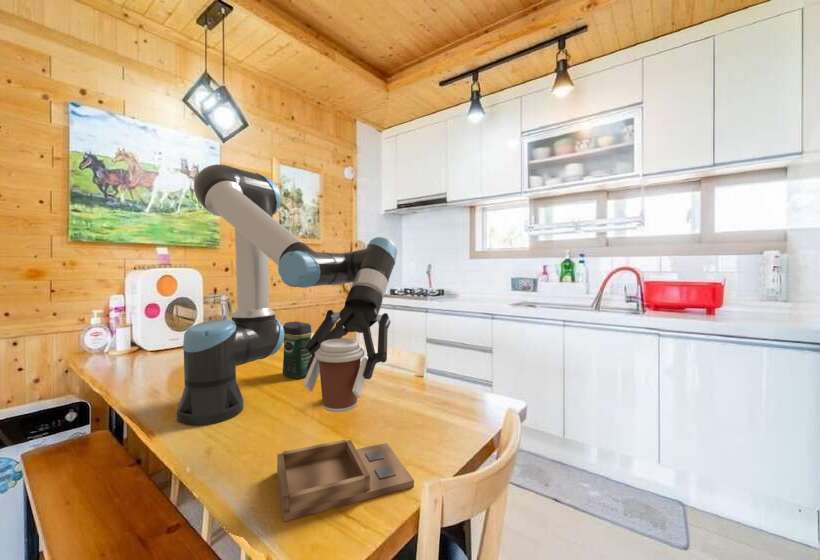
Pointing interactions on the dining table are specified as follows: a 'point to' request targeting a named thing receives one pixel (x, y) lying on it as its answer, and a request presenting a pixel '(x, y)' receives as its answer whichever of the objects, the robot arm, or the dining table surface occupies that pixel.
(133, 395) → the dining table surface
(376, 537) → the dining table surface
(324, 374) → the coffee cup
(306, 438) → the dining table surface
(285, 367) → the coffee jar
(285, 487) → the wooden tray
